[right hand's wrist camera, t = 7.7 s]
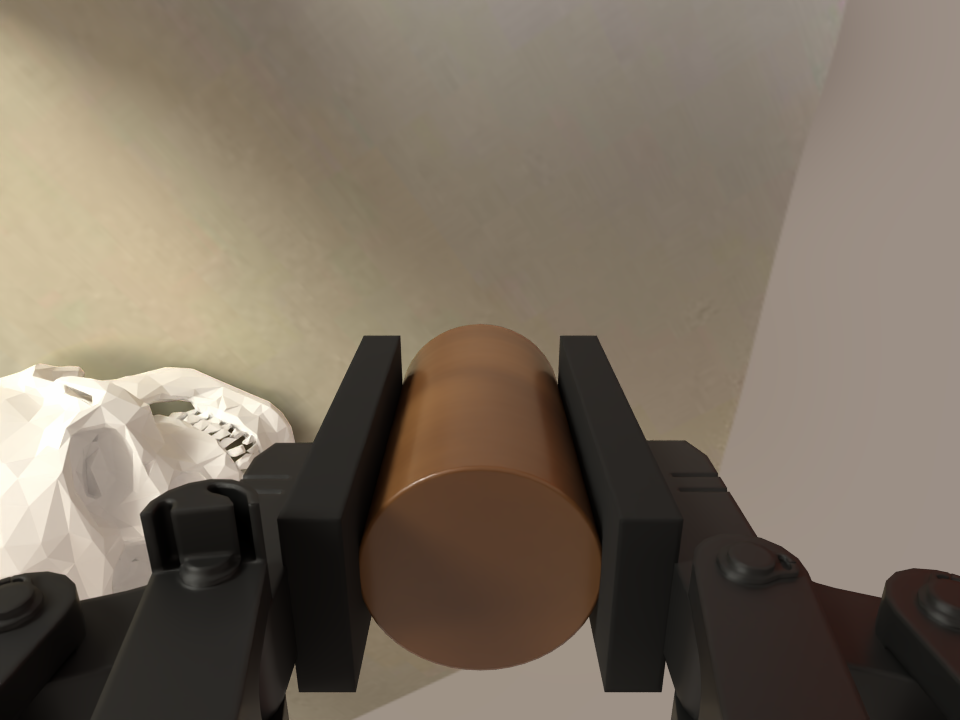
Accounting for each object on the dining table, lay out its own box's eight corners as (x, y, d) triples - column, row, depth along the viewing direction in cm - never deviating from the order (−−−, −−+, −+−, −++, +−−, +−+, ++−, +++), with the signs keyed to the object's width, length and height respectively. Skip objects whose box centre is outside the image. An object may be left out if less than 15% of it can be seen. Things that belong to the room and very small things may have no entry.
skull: (325, 500, 46) (249, 683, 31) (17, 544, 47) (-197, 739, 33) (274, 312, 42) (157, 419, 27) (-64, 365, 43) (-354, 497, 28)
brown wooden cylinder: (405, 465, 16) (363, 671, 10) (399, 323, 14) (347, 466, 9) (554, 466, 16) (597, 672, 10) (561, 323, 14) (614, 467, 9)
